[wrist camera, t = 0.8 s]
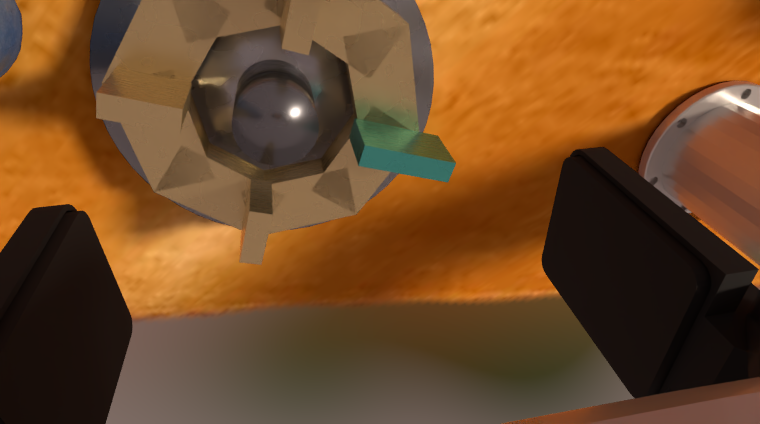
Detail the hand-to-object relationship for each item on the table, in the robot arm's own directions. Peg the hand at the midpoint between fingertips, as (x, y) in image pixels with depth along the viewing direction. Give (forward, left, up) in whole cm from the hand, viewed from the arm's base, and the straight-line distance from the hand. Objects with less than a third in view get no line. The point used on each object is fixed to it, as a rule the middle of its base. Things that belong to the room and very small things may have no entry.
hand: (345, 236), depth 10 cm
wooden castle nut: (-3, +6, -24) cm, 25 cm away
